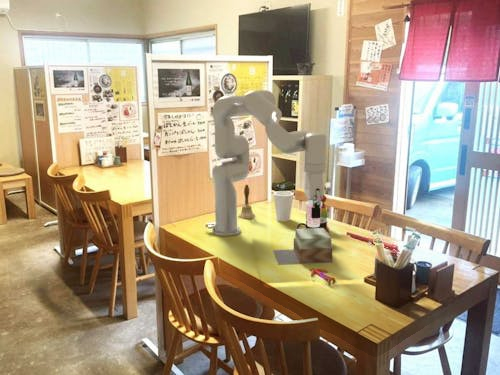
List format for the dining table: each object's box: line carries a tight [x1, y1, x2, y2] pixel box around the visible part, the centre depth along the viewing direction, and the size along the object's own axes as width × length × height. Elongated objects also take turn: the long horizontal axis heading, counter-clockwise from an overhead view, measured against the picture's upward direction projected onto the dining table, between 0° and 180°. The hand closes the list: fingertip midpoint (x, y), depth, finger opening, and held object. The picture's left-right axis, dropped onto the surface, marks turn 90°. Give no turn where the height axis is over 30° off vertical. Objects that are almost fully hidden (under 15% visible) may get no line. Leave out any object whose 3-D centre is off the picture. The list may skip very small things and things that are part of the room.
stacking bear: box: [305, 193, 330, 233], centre depth 203 cm, size 11×10×18 cm
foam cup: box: [273, 190, 294, 223], centre depth 216 cm, size 10×9×13 cm
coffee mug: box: [296, 217, 328, 230], centre depth 186 cm, size 12×9×10 cm
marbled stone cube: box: [293, 228, 333, 263], centre depth 170 cm, size 12×12×9 cm
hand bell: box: [238, 184, 256, 220], centre depth 221 cm, size 8×8×16 cm
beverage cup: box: [305, 198, 322, 227], centre depth 166 cm, size 6×6×14 cm
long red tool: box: [346, 231, 399, 251], centre depth 187 cm, size 24×2×5 cm
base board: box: [272, 248, 334, 266], centre depth 170 cm, size 20×14×1 cm
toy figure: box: [308, 267, 336, 286], centre depth 154 cm, size 8×12×3 cm
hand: (313, 214), depth 167 cm, fingers closed on beverage cup, 6 cm apart
